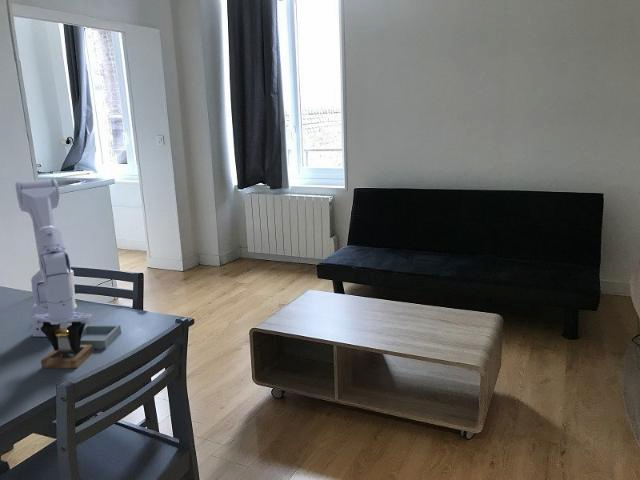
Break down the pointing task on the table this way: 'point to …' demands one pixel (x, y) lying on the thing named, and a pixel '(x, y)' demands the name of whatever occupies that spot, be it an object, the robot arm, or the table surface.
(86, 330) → the tray
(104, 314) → the table surface
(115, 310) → the table surface
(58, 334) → the jar with gold lid
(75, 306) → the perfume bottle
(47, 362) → the socket block
